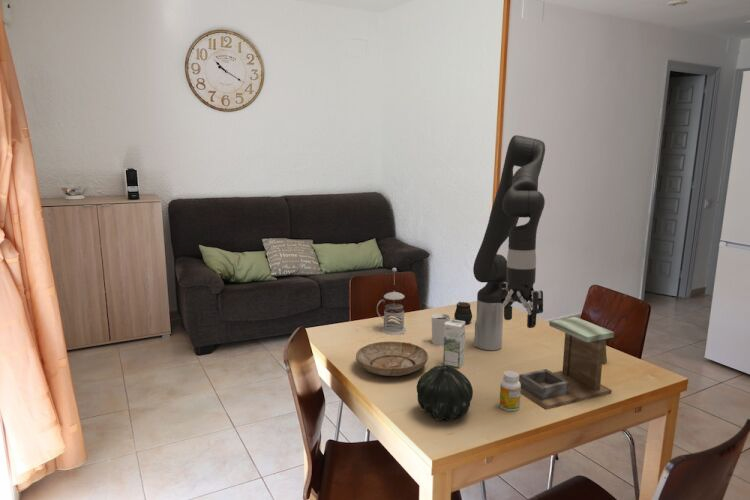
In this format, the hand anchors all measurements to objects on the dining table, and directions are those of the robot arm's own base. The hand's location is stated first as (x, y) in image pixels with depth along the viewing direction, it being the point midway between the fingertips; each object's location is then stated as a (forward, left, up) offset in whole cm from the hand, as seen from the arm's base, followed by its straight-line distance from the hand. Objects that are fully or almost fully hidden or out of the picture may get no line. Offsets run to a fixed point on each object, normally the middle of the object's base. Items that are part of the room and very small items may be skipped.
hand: (519, 323), depth 143 cm
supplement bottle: (-1, -4, -23) cm, 23 cm away
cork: (+22, +39, -23) cm, 50 cm away
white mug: (-31, +36, -23) cm, 52 cm away
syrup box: (-22, +19, -23) cm, 37 cm away
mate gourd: (-28, +61, -23) cm, 71 cm away
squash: (-17, -14, -23) cm, 32 cm away
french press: (-52, +42, -23) cm, 70 cm away
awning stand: (+12, +13, -23) cm, 29 cm away
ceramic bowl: (-40, +9, -23) cm, 47 cm away
